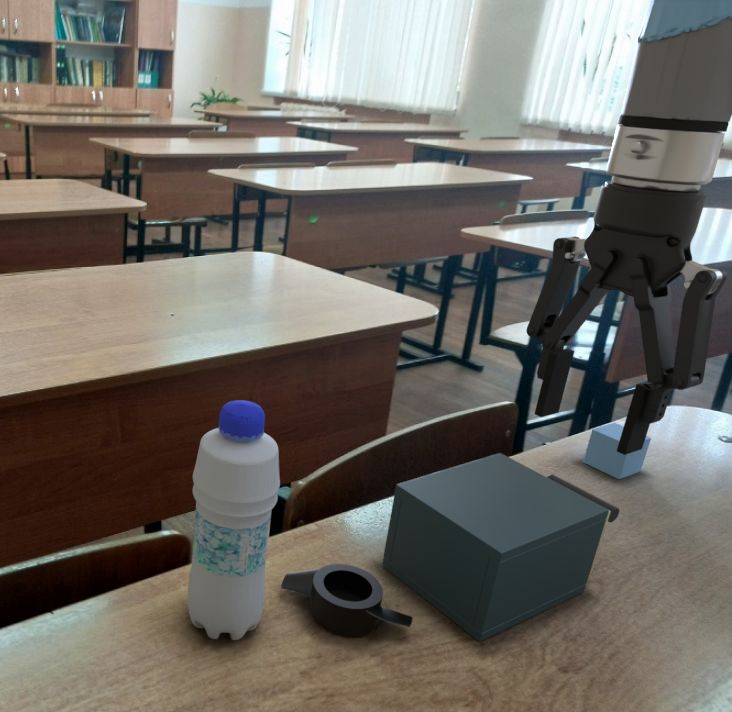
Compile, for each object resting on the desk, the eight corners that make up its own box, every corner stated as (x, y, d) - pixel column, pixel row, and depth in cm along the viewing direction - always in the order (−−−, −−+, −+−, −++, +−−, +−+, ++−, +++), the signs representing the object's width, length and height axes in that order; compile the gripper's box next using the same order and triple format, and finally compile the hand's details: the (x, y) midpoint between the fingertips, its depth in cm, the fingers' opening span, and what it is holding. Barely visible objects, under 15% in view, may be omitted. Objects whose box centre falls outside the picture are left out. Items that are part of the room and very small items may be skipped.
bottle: (278, 639, 59) (305, 417, 52) (202, 658, 57) (220, 429, 50) (241, 587, 65) (262, 381, 58) (171, 603, 63) (183, 390, 55)
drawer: (531, 507, 78) (545, 450, 76) (623, 560, 70) (643, 498, 68) (409, 552, 70) (422, 489, 67) (498, 617, 62) (516, 549, 59)
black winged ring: (349, 668, 57) (354, 638, 56) (272, 592, 65) (275, 565, 64) (419, 635, 60) (425, 607, 59) (338, 567, 68) (342, 541, 67)
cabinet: (482, 527, 76) (500, 452, 73) (584, 592, 67) (609, 509, 64) (381, 565, 69) (396, 484, 66) (479, 642, 60) (501, 553, 57)
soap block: (604, 454, 93) (614, 422, 91) (640, 471, 89) (651, 438, 88) (582, 462, 91) (592, 429, 89) (618, 479, 87) (629, 445, 85)
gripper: (518, 167, 67) (470, 396, 75) (774, 206, 50) (677, 492, 58) (568, 166, 70) (517, 384, 78) (823, 202, 54) (725, 472, 62)
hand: (585, 430), depth 68 cm, fingers open, 8 cm apart
